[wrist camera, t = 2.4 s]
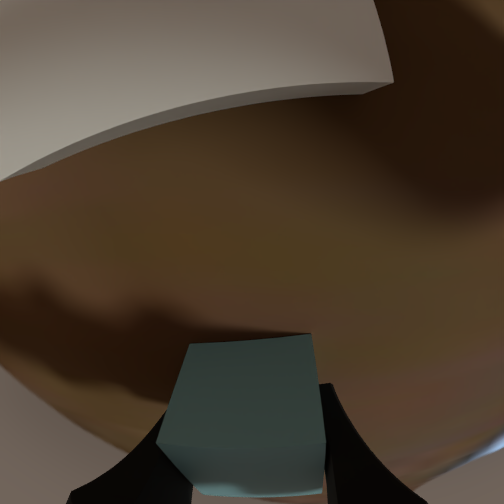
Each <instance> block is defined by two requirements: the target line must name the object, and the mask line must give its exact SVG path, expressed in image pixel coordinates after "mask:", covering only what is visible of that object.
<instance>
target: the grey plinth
mask: <svg viewBox="0 0 504 504" xmlns="http://www.w3.org/2000/svg"><path fill="white" fill-rule="evenodd" d="M391 83H394V79H393V74H392V69H391V64H390V59H389V55H388V51H387V46H386V42H385V38H384V35H383V31H382V27H381V24H380V20H379V17H378V13H377V10H376V7H375V4H374V1H373V0H0V181H3V180H6V179H9V178H12V177H15V176H18V175H21V174H24V173H28V172H31V171H34V170H38V169H41V168H44V167H46V166H48V165H50V164H53V163H55V162H57V161H59V160H62V159H64V158H66V157H69V156H71V155H73V154H76V153H78V152H81V151H83V150H86V149H88V148H91V147H93V146H96V145H99V144H101V143H104V142H107V141H110V140H112V139H115V138H118V137H121V136H124V135H127V134H130V133H133V132H136V131H140V130H143V129H146V128H150V127H153V126H156V125H160V124H164V123H167V122H171V121H175V120H179V119H183V118H187V117H191V116H195V115H199V114H204V113H208V112H213V111H218V110H223V109H228V108H233V107H239V106H244V105H250V104H257V103H263V102H270V101H278V100H286V99H295V98H305V97H317V96H331V95H352V94H364V93H367V92H370V91H372V90H375V89H378V88H380V87H383V86H386V85H389V84H391Z"/></svg>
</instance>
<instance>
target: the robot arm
mask: <svg viewBox="0 0 504 504" xmlns="http://www.w3.org/2000/svg"><path fill="white" fill-rule="evenodd" d="M319 390H320V398H321V405H322V413H323V421H324V429H325V438H326V451H325V465H324V470H325V475H326V483H327V497H328V504H428V503H427V501H425V500H424V499H423V498H421V497H420V496H418V495H417V494H416V493H414V492H413V491H412V490H410V489H409V488H408V487H407V486H406V485H404V484H403V483H402V482H401V481H400V480H399V479H398V478H396V477H395V476H394V475H393V474H392V473H391V472H390V471H389V470H388V469H387V468H386V467H385V466H384V465H383V464H382V463H381V461H380V460H379V459H378V458H377V457H376V456H375V455H374V453H373V452H372V451H371V450H370V449H369V447H368V446H367V445H366V443H365V442H364V441H363V439H362V438H361V436H360V435H359V434H358V432H357V431H356V429H355V428H354V426H353V424H352V423H351V421H350V419H349V418H348V416H347V414H346V413H345V411H344V409H343V407H342V405H341V403H340V401H339V399H338V397H337V394H336V392H335V390H334V387H333V384H331V383H326V384H319ZM166 411H167V410H166ZM166 411H165V413H164V414H163V415H162V417H161V418H160V419H159V421H158V422H157V423H156V424H155V426H154V427H153V428H152V430H151V431H150V432H149V433H148V434H147V435H146V436H145V438H144V439H143V440H142V441H141V442H140V443H139V444H138V445H137V446H136V447H135V448H134V449H133V450H132V451H131V452H130V453H129V454H128V455H127V456H126V457H125V458H124V459H122V461H120V462H119V463H118V464H116V465H115V466H114V467H113V468H111V469H110V470H109V471H107V472H106V473H104V474H102V475H101V476H99V477H98V478H96V479H95V480H93V481H91V482H89V483H87V484H85V485H83V486H81V487H79V488H77V489H75V490H73V491H71V493H70V495H69V498H68V500H67V503H66V504H191V500H192V490H193V484H192V483H191V482H190V481H189V480H188V479H187V478H186V477H185V476H184V475H183V474H182V473H181V472H180V470H179V469H178V468H177V467H176V466H175V465H174V464H173V463H172V461H171V460H170V459H169V458H168V457H167V456H166V454H165V453H164V452H163V451H162V450H161V448H160V447H159V446H158V445H157V444H156V441H157V438H158V435H159V432H160V429H161V426H162V423H163V420H164V417H165V414H166Z"/></svg>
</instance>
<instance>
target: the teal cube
mask: <svg viewBox="0 0 504 504" xmlns="http://www.w3.org/2000/svg"><path fill="white" fill-rule="evenodd" d="M156 444H157V445H158V446H159V447H160V448H161V450H162V451H163V452H164V453H165V454H166V456H167V457H168V458H169V459H170V460H171V461H172V463H173V464H174V465H175V466H176V467H177V468H178V469H179V470H180V472H181V473H182V474H183V475H184V476H185V477H186V478H187V479H188V480H189V481H190V482H191V483H192V484H193V485H194V486H195V487H196V488H197V489H198V490H199V491H200V492H201V493H202V494H204V495H214V496H229V497H283V496H298V495H310V494H319V493H322V487H323V476H324V465H325V451H326V438H325V429H324V421H323V413H322V405H321V398H320V390H319V383H318V376H317V369H316V362H315V356H314V349H313V343H312V337H311V334H305V335H297V336H288V337H279V338H269V339H258V340H246V341H232V342H216V343H195V344H190V345H189V347H188V350H187V353H186V356H185V359H184V361H183V364H182V367H181V370H180V373H179V376H178V379H177V382H176V384H175V387H174V390H173V393H172V396H171V399H170V402H169V405H168V408H167V411H166V414H165V417H164V420H163V423H162V426H161V429H160V432H159V435H158V438H157V441H156Z"/></svg>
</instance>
